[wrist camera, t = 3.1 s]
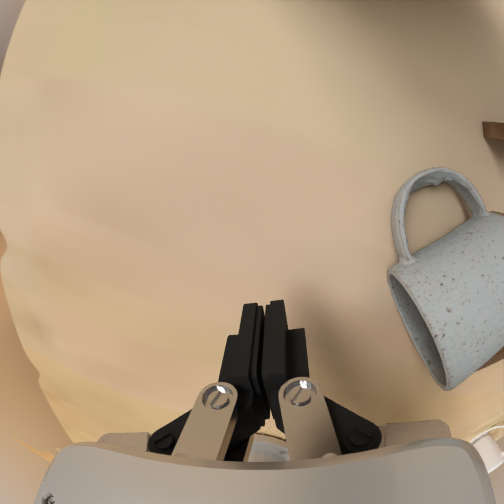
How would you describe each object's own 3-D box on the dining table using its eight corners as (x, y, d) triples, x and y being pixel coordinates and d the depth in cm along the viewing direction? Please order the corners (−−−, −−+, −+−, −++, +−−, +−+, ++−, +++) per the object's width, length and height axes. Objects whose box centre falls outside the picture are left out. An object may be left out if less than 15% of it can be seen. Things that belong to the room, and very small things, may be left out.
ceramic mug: (489, 276, 15) (549, 333, 8) (406, 333, 17) (446, 415, 10) (454, 141, 12) (550, 157, 5) (347, 206, 14) (407, 269, 7)
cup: (455, 450, 27) (466, 484, 20) (499, 414, 23) (515, 449, 16) (470, 448, 28) (481, 478, 21) (509, 415, 24) (524, 445, 17)
